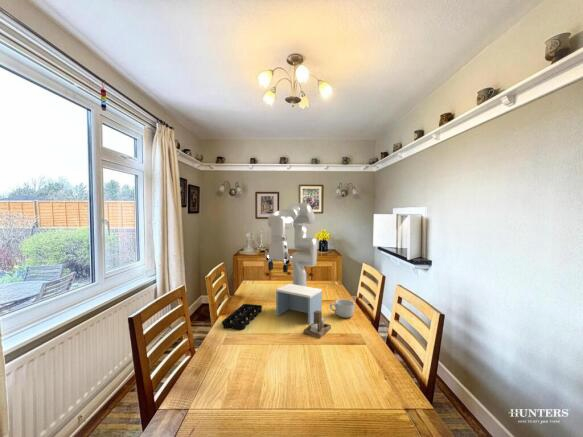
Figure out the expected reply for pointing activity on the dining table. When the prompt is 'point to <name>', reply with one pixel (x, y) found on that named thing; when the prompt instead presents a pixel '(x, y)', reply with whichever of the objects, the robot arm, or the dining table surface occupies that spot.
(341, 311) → the teacup
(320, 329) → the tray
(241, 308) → the egg carton
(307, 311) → the white step stool
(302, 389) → the dining table surface
